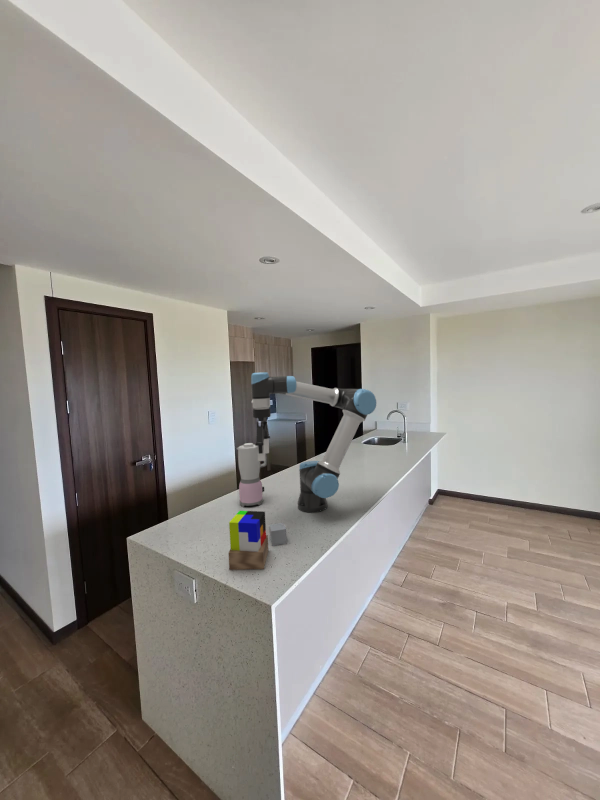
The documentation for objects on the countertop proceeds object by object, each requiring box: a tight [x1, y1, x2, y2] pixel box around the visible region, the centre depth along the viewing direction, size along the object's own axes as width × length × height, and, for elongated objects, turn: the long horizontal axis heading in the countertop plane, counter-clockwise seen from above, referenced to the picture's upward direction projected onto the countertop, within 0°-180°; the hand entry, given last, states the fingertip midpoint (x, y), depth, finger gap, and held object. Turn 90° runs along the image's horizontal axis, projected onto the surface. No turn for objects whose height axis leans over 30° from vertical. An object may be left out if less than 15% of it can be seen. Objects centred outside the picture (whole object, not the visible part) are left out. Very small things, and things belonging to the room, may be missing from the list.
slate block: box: [268, 522, 288, 547], centre depth 129 cm, size 6×6×6 cm
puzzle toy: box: [228, 510, 267, 552], centre depth 116 cm, size 10×10×10 cm
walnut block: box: [228, 534, 269, 571], centre depth 116 cm, size 12×12×6 cm
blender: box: [236, 442, 268, 508], centre depth 169 cm, size 16×12×32 cm
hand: (263, 456), depth 139 cm, fingers open, 13 cm apart
